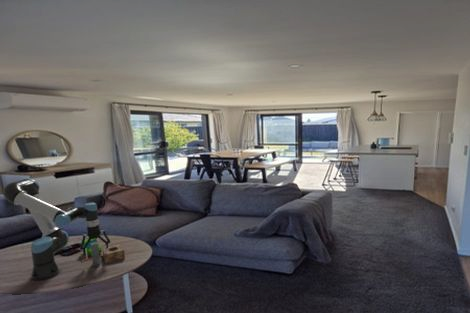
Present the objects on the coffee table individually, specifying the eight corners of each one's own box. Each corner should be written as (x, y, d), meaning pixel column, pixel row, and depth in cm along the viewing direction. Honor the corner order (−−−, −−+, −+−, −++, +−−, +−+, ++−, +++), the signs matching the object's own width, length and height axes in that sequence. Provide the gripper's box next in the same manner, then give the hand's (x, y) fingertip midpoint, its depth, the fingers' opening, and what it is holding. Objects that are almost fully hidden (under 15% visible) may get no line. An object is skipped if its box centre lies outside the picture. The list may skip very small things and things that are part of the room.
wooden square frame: (105, 262, 205) (104, 254, 204) (103, 255, 216) (102, 248, 215) (124, 258, 211) (124, 250, 210) (121, 251, 222) (121, 243, 222)
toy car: (90, 258, 213) (88, 245, 212) (81, 253, 221) (80, 241, 220) (103, 253, 221) (102, 240, 220) (94, 249, 229) (93, 236, 228)
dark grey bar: (93, 266, 200) (91, 245, 199) (92, 263, 204) (90, 243, 202) (100, 264, 202) (98, 243, 201) (99, 262, 206) (97, 241, 204)
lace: (81, 262, 206) (80, 261, 206) (79, 260, 209) (79, 259, 209) (106, 254, 217) (106, 254, 217) (105, 253, 220) (105, 252, 220)
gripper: (73, 231, 191) (77, 262, 194) (112, 222, 203) (116, 252, 205) (73, 227, 198) (77, 258, 200) (111, 220, 209) (114, 249, 212)
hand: (96, 255), depth 203 cm, fingers open, 12 cm apart
